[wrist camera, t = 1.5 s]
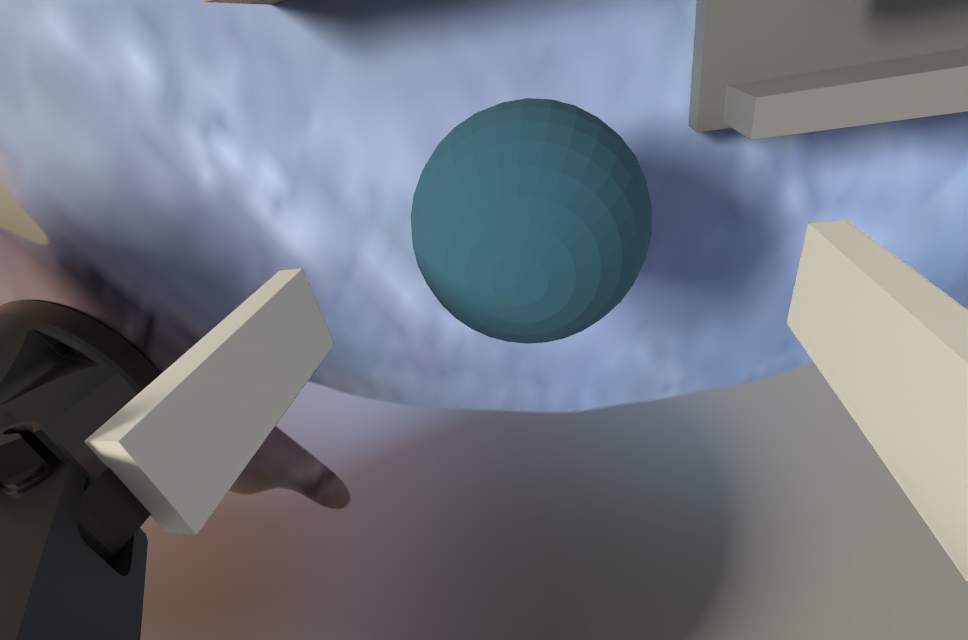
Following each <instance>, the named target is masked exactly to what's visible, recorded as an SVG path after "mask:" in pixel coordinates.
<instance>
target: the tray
mask: <svg viewBox="0 0 968 640" xmlns="http://www.w3.org/2000/svg"><path fill="white" fill-rule="evenodd" d="M283 1H287V0H205V2H220V3H245V4H269V5H270V4H274V3H278V2H283Z"/></svg>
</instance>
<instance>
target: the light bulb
mask: <svg viewBox="0 0 968 640" xmlns="http://www.w3.org/2000/svg"><path fill="white" fill-rule="evenodd" d="M651 214H652V211H651V204H650V198H649V193H648V189H647V184H646V179H645V176H644V174H643V172H642V170H641V168H640V165H639V163H638V161H637V159H636V156H635V155H634V154H633V152H632V151H631V150H630V148H629V147H628V146H627V145H626V143H625V142H624V141H623V139H622V138H621V137H620V136H619V135H618V134H617V133H616V132H615V131H613V130H612V129H611V128H610V127H609V126H607V125H606V124H605V123H604V122H603V121H602V120H600V119H599V118H598V117H596V116H594V115H592V114H590V113H588V112H586V111H584V110H582V109H580V108H579V107H577V106H574V105H570V104H566V103H563V102H559V101H555V100H550V99H521V100H515V101H509V102H504V103H500V104H498V105H495V106H493V107H490V108H488V109H485V110H483V111H481V112H478V113H476V114H474V115H472V116H471V117H470V118H468V119H467V120H465V121H464V122H462V123H461V124H459V125H458V126H456V127H455V128H454V129H453V130H452V131H451V132H450V133H449V134H448V135H447V136H446V137H445V138H444V139H443V140H442V141H441V142H440V143H439V144H438V146H437V147H436V149H435V151H434V152H433V154H432V155H431V157H430V159H429V160H428V162H427V164H426V165H425V167H424V169H423V171H422V173H421V176H420V179H419V182H418V184H417V187H416V190H415V193H414V198H413V205H412V213H411V226H412V240H413V249H414V252H415V256H416V260H417V263H418V267H419V269H420V271H421V273H422V275H423V277H424V279H425V281H426V283H427V285H428V286H429V288H430V289H431V291H432V292H433V293H434V295H435V296H436V297H437V299H438V300H439V301H440V303H441V304H442V305H443V306H444V307H445V308H446V309H447V310H448V311H449V312H450V313H451V314H452V315H453V316H454V317H455V318H456V319H458V320H459V321H461V322H462V323H464V324H465V325H467V326H468V327H470V328H471V329H473V330H476V331H478V332H480V333H482V334H485V335H487V336H489V337H493V338H496V339H500V340H504V341H508V342H518V343H542V342H549V341H554V340H558V339H563V338H566V337H568V336H571V335H573V334H576V333H578V332H581V331H583V330H584V329H586V328H588V327H589V326H591V325H592V324H594V323H596V322H597V321H599V320H600V319H601V318H603V317H604V316H605V315H606V314H608V313H609V312H610V311H611V310H612V309H613V308H614V307H615V306H616V305H617V304H618V303H620V302H621V300H622V299H623V298H624V296H625V295H626V294H627V292H628V291H629V289H630V288H631V287H632V285H633V284H634V282H635V279H636V277H637V275H638V273H639V271H640V269H641V267H642V264H643V262H644V260H645V257H646V254H647V249H648V245H649V241H650V237H651Z"/></svg>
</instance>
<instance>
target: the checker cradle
mask: <svg viewBox="0 0 968 640" xmlns="http://www.w3.org/2000/svg"><path fill="white" fill-rule="evenodd" d="M966 111H968V0H697V7H696V22H695V38H694V54H693V69H692V85H691V100H690V116H689V126H690V127H691V128H692V129H693V130H694V131H696V132H704V131H712V130H719V129H726V128H733V129H735V130H736V131H738V132H739V133H741V134H742V135H744V136H745V137H747V138H748V139H750V140H755V139H762V138H770V137H777V136H785V135H793V134H800V133H808V132H815V131H823V130H830V129H838V128H845V127H853V126H860V125H868V124H876V123H883V122H891V121H898V120H906V119H913V118H921V117H928V116H936V115H943V114H951V113H958V112H966Z"/></svg>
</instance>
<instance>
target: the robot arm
mask: <svg viewBox="0 0 968 640" xmlns="http://www.w3.org/2000/svg"><path fill="white" fill-rule="evenodd" d="M787 324H788V326H789V327H790V329H791V330H792V332H793V333H794V334H795V336H796V337H797V339H798V340H799V342H800V343H801V344H802V346H803V347H804V349H805V350H806V352H807V353H808V355H809V356H810V357H811V359H812V360H813V362H814V363H815V365H816V366H817V367H818V369H819V370H820V372H821V373H822V375H823V376H824V377H825V379H826V380H827V382H828V383H829V385H830V386H831V388H832V389H833V390H834V392H835V393H836V395H837V396H838V398H839V399H840V400H841V402H842V403H843V405H844V406H845V408H846V409H847V410H848V412H849V413H850V415H851V416H852V418H853V419H854V421H855V422H856V423H857V425H858V426H859V428H860V429H861V431H862V432H863V434H864V435H865V436H866V438H867V439H868V441H869V442H870V444H871V445H872V446H873V448H874V449H875V451H876V452H877V454H878V455H879V457H880V458H881V459H882V461H883V462H884V464H885V465H886V466H887V468H888V469H889V471H890V472H891V474H892V475H893V477H894V478H895V479H896V481H897V482H898V484H899V485H900V487H901V488H902V490H903V491H904V492H905V494H906V495H907V497H908V498H909V500H910V501H911V503H912V504H913V505H914V507H915V508H916V509H917V511H918V513H919V514H920V515H921V517H922V518H923V520H924V521H925V523H926V524H927V525H928V527H929V528H930V530H931V531H932V533H933V534H934V536H935V537H936V538H937V540H938V541H939V543H940V544H941V545H942V547H943V548H944V550H945V551H946V553H947V554H948V556H949V557H950V559H951V560H952V561H953V563H954V564H955V566H956V567H957V569H958V570H959V571H960V573H961V574H962V576H963V577H964V579H965V580H966V581H967V582H968V310H967V309H966V308H964V307H963V306H962V305H960V304H959V303H958V302H956V301H955V300H954V299H952V298H951V297H950V296H948V295H947V294H946V293H944V292H943V291H942V290H940V289H939V288H938V287H936V286H935V285H933V284H932V283H931V282H929V281H928V280H927V279H925V278H924V277H923V276H921V275H920V274H919V273H917V272H916V271H915V270H913V269H912V268H911V267H909V266H908V265H907V264H905V263H904V262H903V261H901V260H900V259H899V258H897V257H896V256H895V255H893V254H892V253H891V252H889V251H888V250H887V249H885V248H884V247H883V246H881V245H880V244H879V243H877V242H876V241H875V240H873V239H872V238H870V237H869V236H868V235H866V234H865V233H864V232H862V231H861V230H860V229H858V228H857V227H856V226H854V225H853V224H852V223H850V222H849V221H848V220H837V221H826V222H814V223H808V226H807V231H806V235H805V240H804V245H803V249H802V254H801V258H800V263H799V268H798V272H797V277H796V282H795V286H794V291H793V295H792V300H791V305H790V309H789V314H788V319H787ZM333 345H334V343H333V340H332V338H331V335H330V333H329V331H328V328H327V326H326V323H325V321H324V319H323V316H322V314H321V312H320V309H319V307H318V304H317V302H316V300H315V297H314V295H313V292H312V290H311V288H310V285H309V283H308V281H307V278H306V276H305V273H304V271H303V269H291V270H280V271H278V272H277V273H276V274H275V275H274V276H273V277H272V278H270V279H269V280H268V281H267V282H266V283H265V284H264V285H262V286H261V287H260V288H259V289H258V290H257V291H256V292H254V293H253V294H252V295H251V296H250V297H249V298H248V299H246V300H245V301H244V302H243V303H242V304H241V305H240V306H238V307H237V308H236V309H235V310H234V311H233V312H232V313H230V314H229V315H228V316H227V317H226V318H225V319H223V320H222V321H221V322H220V323H219V324H218V325H217V326H215V327H214V328H213V329H212V330H211V331H210V332H209V333H207V334H206V335H205V336H204V337H203V338H202V339H201V340H199V341H198V342H197V343H196V344H195V345H194V346H193V347H191V348H190V349H189V350H188V351H187V352H186V353H185V354H183V355H182V356H181V357H180V358H179V359H178V360H177V361H175V362H174V363H173V364H172V365H171V366H170V367H169V368H167V369H166V370H165V371H164V372H163V373H162V374H161V375H160V374H159V373H158V371H157V370H156V369H155V368H154V367H153V365H152V364H151V363H150V362H149V361H148V360H147V359H146V358H145V357H144V356H143V355H142V354H141V353H140V352H139V351H138V350H137V349H136V348H134V347H133V346H132V345H131V344H130V343H128V342H127V341H126V340H125V339H123V338H122V337H121V336H119V335H118V334H116V333H115V332H113V331H112V330H110V329H109V328H107V327H106V326H104V325H102V324H101V323H99V322H97V321H95V320H93V319H91V318H89V317H87V316H85V315H83V314H81V313H79V312H76V311H74V310H71V309H68V308H65V307H62V306H59V305H56V304H52V303H47V302H42V301H33V300H19V301H13V302H9V303H6V304H3V305H1V306H0V640H140V634H141V621H142V609H143V596H144V584H145V571H146V558H147V544H148V540H147V536H146V534H145V533H144V532H143V531H142V530H141V528H140V527H141V525H142V524H143V523H144V522H145V521H146V519H147V518H148V517H149V516H150V515H151V516H152V517H153V519H154V520H155V521H156V522H157V523H158V524H159V525H160V526H161V527H162V529H163V530H164V531H165V532H166V533H180V534H197V533H198V532H199V531H200V529H201V528H202V526H203V525H204V524H205V522H206V521H207V519H208V518H209V517H210V515H211V514H212V512H213V511H214V510H215V508H216V507H217V506H218V504H219V503H220V501H221V500H222V499H223V497H224V496H225V495H226V493H227V492H228V490H229V489H230V488H231V486H232V485H233V483H234V482H235V481H236V479H237V478H238V477H239V475H240V474H241V472H242V471H243V470H244V468H245V467H246V466H247V464H248V463H249V461H250V460H251V459H252V457H253V456H254V454H255V453H256V452H257V450H258V449H259V448H260V446H261V445H262V443H263V442H264V441H265V439H266V438H267V436H268V435H269V434H270V432H271V431H272V430H273V428H274V427H275V425H276V424H277V422H278V421H279V420H280V418H281V417H282V416H283V414H284V413H285V412H286V410H287V409H288V407H289V406H290V405H291V403H292V402H293V401H294V399H295V398H296V396H297V395H298V394H299V392H300V391H301V389H302V388H303V387H304V385H305V384H306V383H307V381H308V380H309V378H310V377H311V376H312V374H313V373H314V371H315V370H316V369H317V367H318V366H319V365H320V363H321V362H322V360H323V359H324V358H325V356H326V355H327V353H328V352H329V351H330V349H331V348H332V347H333Z"/></svg>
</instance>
